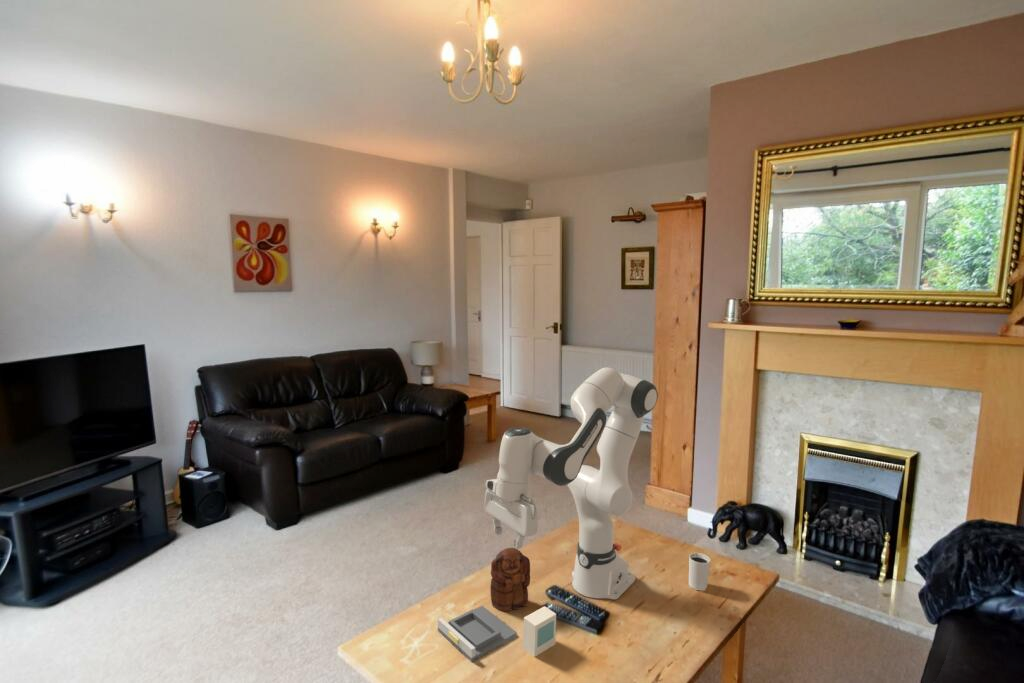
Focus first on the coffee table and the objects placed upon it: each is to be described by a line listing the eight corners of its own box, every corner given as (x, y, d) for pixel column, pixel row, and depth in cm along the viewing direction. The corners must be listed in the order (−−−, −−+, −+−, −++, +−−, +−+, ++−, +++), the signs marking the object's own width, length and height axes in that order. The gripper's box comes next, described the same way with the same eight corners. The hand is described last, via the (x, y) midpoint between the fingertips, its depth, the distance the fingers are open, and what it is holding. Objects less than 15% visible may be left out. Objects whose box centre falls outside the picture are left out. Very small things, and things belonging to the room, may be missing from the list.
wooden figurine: (495, 614, 157) (496, 558, 155) (489, 602, 163) (490, 547, 161) (531, 607, 161) (533, 551, 159) (524, 595, 167) (525, 541, 165)
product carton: (522, 648, 143) (523, 617, 142) (543, 635, 149) (544, 606, 148) (534, 657, 140) (535, 626, 139) (555, 644, 145) (556, 614, 144)
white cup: (701, 594, 170) (703, 565, 169) (683, 585, 175) (685, 557, 174) (712, 587, 174) (714, 558, 173) (693, 578, 179) (695, 550, 178)
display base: (482, 608, 160) (482, 597, 160) (516, 635, 148) (517, 624, 148) (436, 631, 149) (436, 619, 149) (470, 662, 137) (470, 650, 137)
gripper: (546, 500, 133) (540, 554, 133) (501, 477, 150) (496, 525, 150) (526, 503, 129) (520, 558, 130) (482, 479, 146) (477, 528, 146)
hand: (507, 540), depth 140 cm, fingers open, 8 cm apart
